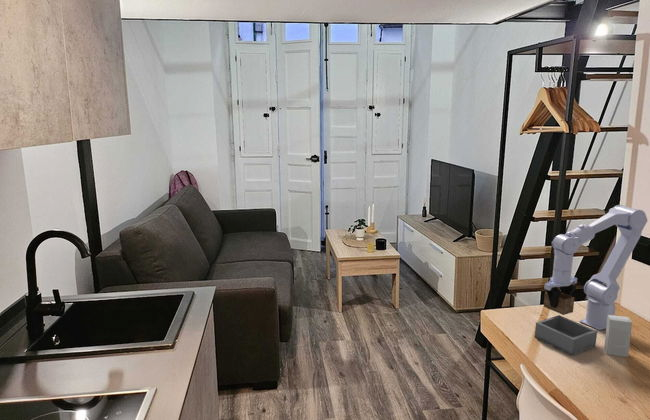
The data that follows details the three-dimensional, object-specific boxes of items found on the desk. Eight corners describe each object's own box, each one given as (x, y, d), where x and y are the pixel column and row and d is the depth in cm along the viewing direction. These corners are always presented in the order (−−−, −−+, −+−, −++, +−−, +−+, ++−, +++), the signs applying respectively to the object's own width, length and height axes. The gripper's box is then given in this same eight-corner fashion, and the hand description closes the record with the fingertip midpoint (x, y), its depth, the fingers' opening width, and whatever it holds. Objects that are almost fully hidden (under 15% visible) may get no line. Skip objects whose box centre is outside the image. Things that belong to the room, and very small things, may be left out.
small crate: (553, 303, 171) (554, 289, 170) (572, 312, 164) (574, 297, 163) (543, 306, 169) (544, 292, 168) (563, 315, 162) (564, 300, 161)
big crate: (557, 329, 167) (559, 315, 166) (595, 346, 155) (597, 331, 154) (534, 337, 162) (535, 322, 161) (571, 355, 150) (573, 339, 149)
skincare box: (624, 351, 152) (629, 316, 150) (628, 357, 148) (632, 322, 146) (603, 348, 154) (607, 314, 152) (606, 354, 150) (610, 319, 148)
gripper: (565, 262, 170) (562, 297, 173) (538, 268, 164) (535, 305, 167) (584, 268, 164) (580, 304, 167) (556, 275, 158) (552, 312, 161)
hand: (558, 305), depth 166 cm, fingers closed on small crate, 5 cm apart
